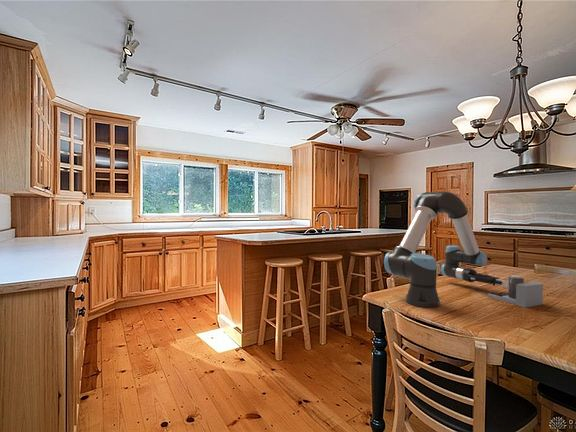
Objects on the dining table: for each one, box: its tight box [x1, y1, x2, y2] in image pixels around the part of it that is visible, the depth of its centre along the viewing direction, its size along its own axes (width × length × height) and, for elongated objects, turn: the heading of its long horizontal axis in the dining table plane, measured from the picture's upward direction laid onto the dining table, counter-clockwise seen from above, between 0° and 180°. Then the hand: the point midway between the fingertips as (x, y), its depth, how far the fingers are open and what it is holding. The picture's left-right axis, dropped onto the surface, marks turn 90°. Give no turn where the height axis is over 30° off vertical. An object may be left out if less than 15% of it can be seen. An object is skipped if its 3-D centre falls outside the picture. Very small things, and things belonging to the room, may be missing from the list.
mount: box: [486, 281, 544, 308], centre depth 148 cm, size 13×18×10 cm
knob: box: [501, 274, 525, 301], centre depth 147 cm, size 8×8×12 cm
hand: (509, 284), depth 150 cm, fingers closed
